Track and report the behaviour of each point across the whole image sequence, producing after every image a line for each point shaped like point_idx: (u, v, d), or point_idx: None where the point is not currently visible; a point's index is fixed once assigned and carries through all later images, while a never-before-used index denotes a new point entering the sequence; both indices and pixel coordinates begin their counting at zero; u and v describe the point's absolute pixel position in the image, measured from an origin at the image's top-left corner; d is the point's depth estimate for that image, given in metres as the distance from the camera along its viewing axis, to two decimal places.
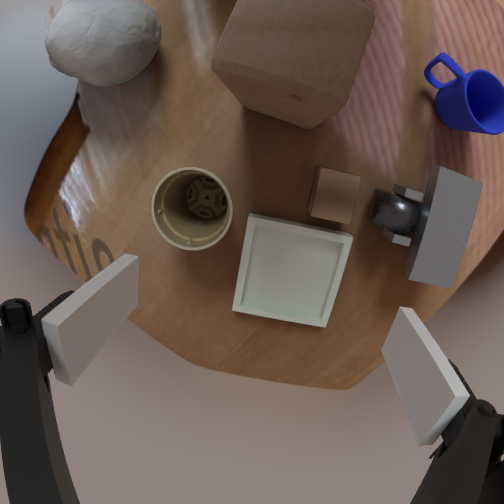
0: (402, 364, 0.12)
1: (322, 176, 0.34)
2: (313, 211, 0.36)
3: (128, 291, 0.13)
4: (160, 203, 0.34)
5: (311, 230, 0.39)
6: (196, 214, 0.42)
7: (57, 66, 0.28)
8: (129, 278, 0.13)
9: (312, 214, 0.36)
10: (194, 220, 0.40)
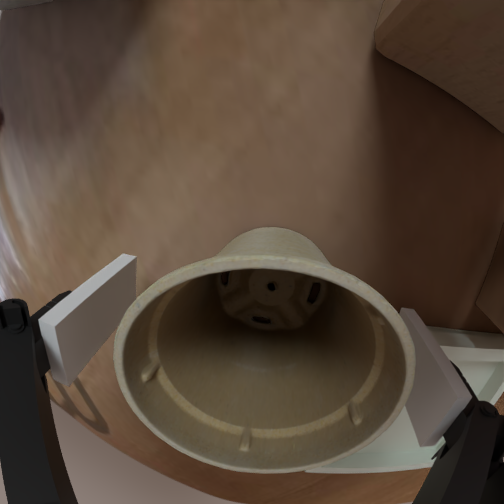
0: None
1: None
2: None
3: (126, 291, 0.13)
4: (146, 350, 0.10)
5: (483, 351, 0.14)
6: (241, 321, 0.17)
7: None
8: (127, 278, 0.13)
9: None
10: (240, 345, 0.15)
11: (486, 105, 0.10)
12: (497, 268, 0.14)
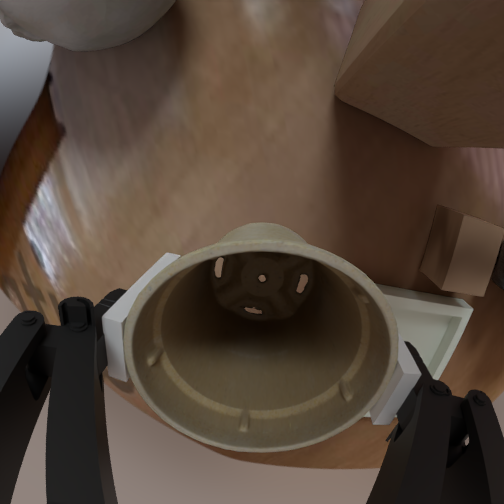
0: None
1: (463, 228, 0.18)
2: (445, 282, 0.20)
3: None
4: (151, 336, 0.11)
5: (428, 304, 0.23)
6: (234, 312, 0.18)
7: (10, 23, 0.12)
8: None
9: (443, 287, 0.20)
10: (234, 335, 0.17)
11: (409, 128, 0.18)
12: (432, 241, 0.22)
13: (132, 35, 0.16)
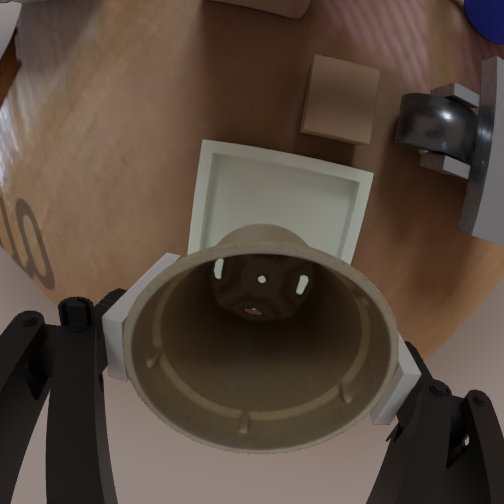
0: None
1: (317, 66, 0.19)
2: (307, 121, 0.20)
3: None
4: (151, 337, 0.11)
5: (305, 159, 0.23)
6: (234, 313, 0.18)
7: None
8: None
9: (305, 126, 0.20)
10: (234, 336, 0.17)
11: (257, 1, 0.18)
12: (305, 99, 0.23)
13: None
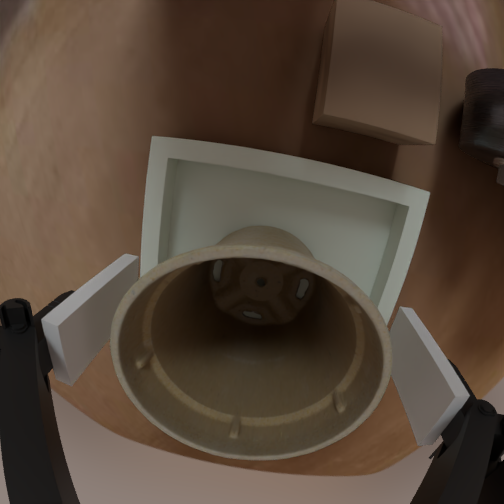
0: (402, 364, 0.12)
1: (344, 10, 0.09)
2: (330, 100, 0.10)
3: None
4: (141, 339, 0.11)
5: (323, 167, 0.13)
6: (233, 316, 0.18)
7: None
8: (129, 278, 0.13)
9: (328, 108, 0.11)
10: (231, 339, 0.16)
11: None
12: (320, 70, 0.13)
13: None
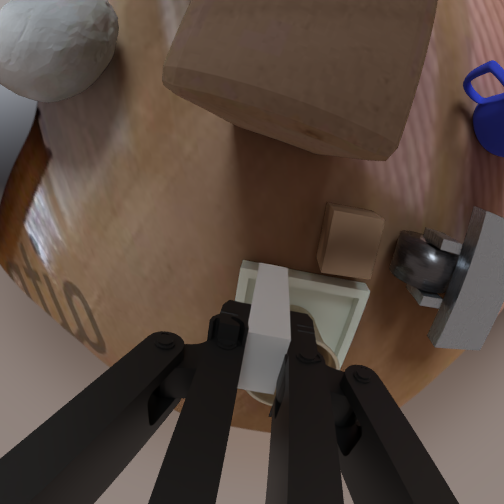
0: None
1: (335, 221, 0.27)
2: (324, 266, 0.28)
3: None
4: None
5: (319, 284, 0.31)
6: None
7: None
8: None
9: (323, 270, 0.28)
10: None
11: (287, 143, 0.26)
12: (322, 233, 0.31)
13: (82, 90, 0.24)
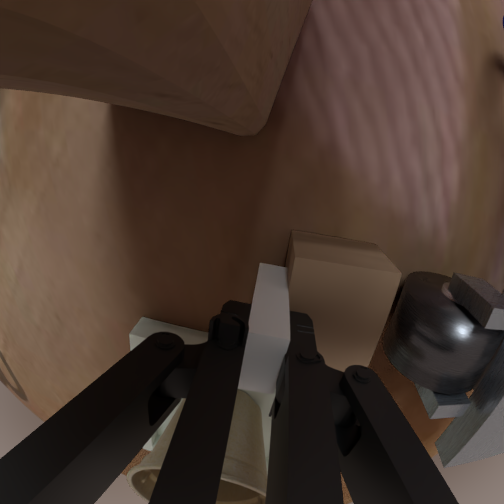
0: None
1: (298, 280, 0.13)
2: None
3: None
4: None
5: None
6: None
7: None
8: None
9: None
10: None
11: (178, 118, 0.13)
12: None
13: None
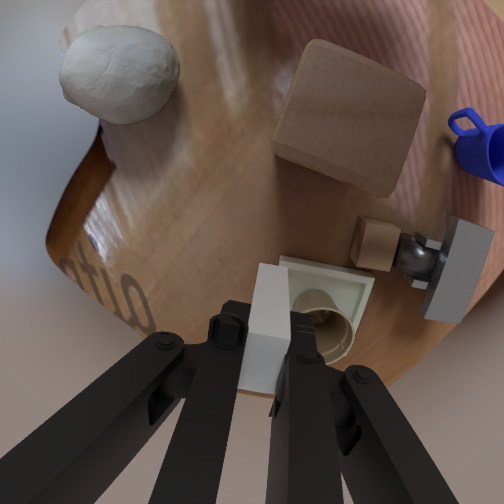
0: None
1: (367, 230, 0.37)
2: (358, 262, 0.38)
3: None
4: None
5: (338, 272, 0.41)
6: None
7: (72, 100, 0.30)
8: None
9: (357, 264, 0.38)
10: None
11: None
12: (355, 238, 0.41)
13: None
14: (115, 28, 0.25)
